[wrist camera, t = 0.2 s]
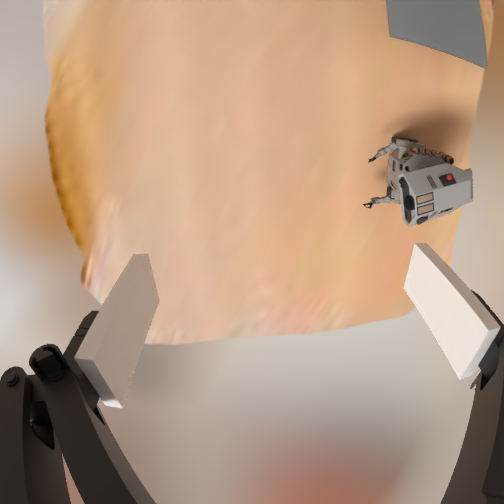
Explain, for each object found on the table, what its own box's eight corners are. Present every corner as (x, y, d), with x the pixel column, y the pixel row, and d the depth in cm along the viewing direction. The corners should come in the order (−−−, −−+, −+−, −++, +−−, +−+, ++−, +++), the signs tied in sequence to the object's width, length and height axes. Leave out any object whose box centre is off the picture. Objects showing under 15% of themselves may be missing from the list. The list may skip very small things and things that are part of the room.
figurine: (355, 132, 36) (408, 151, 23) (422, 140, 36) (487, 164, 23) (351, 194, 41) (395, 239, 27) (415, 196, 41) (471, 238, 27)
